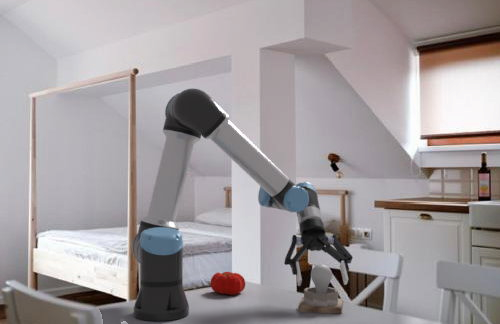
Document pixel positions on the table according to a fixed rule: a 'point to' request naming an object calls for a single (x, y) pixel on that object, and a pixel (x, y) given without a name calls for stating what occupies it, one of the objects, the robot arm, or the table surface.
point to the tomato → (227, 283)
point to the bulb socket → (321, 301)
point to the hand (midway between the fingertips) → (323, 282)
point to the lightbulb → (321, 277)
